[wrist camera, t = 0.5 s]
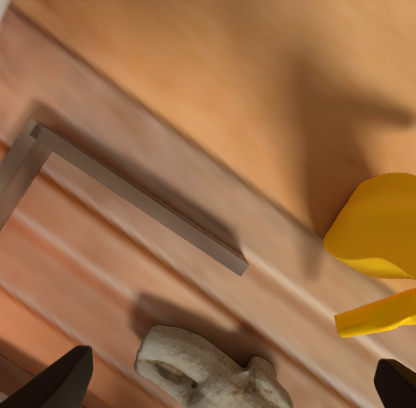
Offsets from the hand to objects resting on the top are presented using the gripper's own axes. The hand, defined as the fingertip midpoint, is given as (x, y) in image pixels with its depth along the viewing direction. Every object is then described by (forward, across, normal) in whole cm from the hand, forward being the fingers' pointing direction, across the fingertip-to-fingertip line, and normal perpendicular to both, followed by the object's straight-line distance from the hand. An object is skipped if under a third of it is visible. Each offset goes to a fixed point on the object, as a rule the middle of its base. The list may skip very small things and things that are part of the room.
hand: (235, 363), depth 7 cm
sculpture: (+13, 0, +14) cm, 19 cm away
